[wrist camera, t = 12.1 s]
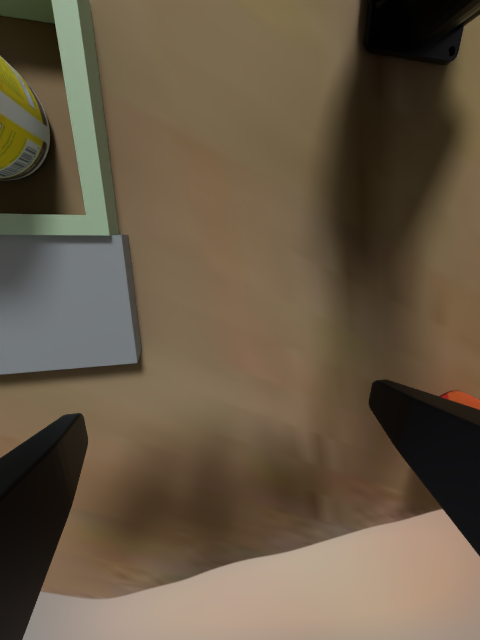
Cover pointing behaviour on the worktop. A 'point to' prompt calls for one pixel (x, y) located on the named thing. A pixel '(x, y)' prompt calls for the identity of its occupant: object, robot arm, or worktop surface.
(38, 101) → the supplement bottle
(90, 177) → the green flat frame
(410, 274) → the worktop surface
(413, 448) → the robot arm
